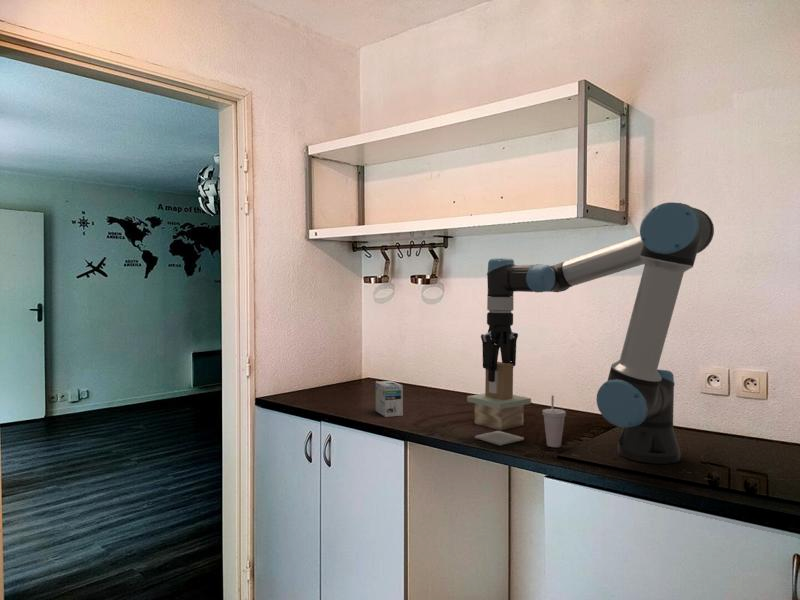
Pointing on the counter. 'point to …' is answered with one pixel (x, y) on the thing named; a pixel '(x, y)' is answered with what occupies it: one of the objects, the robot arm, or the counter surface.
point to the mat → (499, 437)
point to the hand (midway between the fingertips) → (499, 391)
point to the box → (499, 416)
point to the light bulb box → (389, 398)
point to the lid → (500, 390)
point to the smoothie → (554, 425)
